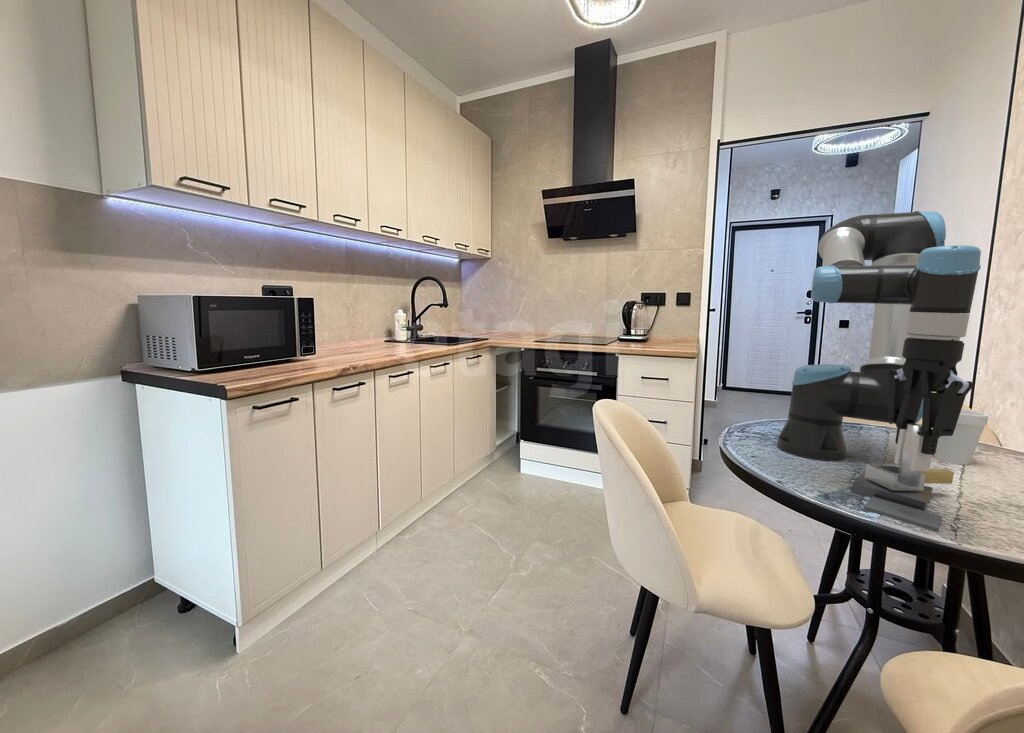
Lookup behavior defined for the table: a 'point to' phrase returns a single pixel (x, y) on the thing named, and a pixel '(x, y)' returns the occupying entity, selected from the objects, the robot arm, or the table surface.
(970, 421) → the grey rounded piece
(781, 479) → the table surface
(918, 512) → the pad
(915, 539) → the table surface
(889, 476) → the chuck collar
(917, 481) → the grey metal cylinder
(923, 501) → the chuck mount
